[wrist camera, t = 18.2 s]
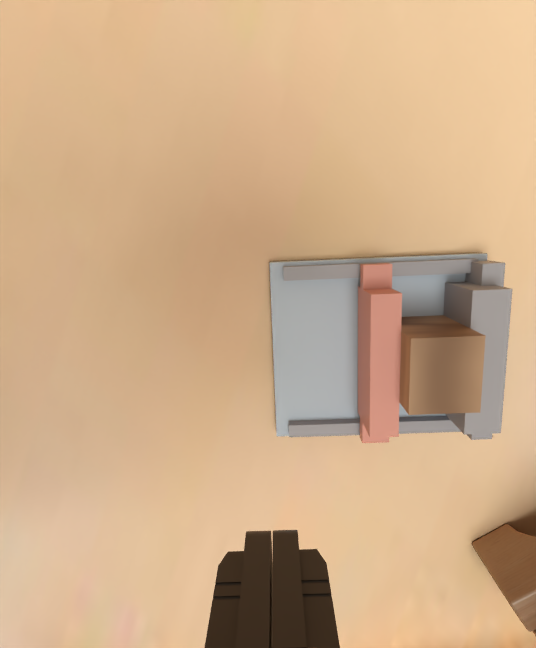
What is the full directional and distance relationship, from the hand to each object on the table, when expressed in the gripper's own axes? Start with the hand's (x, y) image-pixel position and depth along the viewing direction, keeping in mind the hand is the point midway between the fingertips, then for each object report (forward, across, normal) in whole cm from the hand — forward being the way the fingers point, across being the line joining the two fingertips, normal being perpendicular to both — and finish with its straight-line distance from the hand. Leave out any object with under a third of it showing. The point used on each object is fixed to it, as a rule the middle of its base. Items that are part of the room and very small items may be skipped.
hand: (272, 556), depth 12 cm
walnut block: (+21, -11, 0) cm, 24 cm away
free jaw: (+21, -8, 0) cm, 22 cm away
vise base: (+22, -8, 0) cm, 23 cm away
